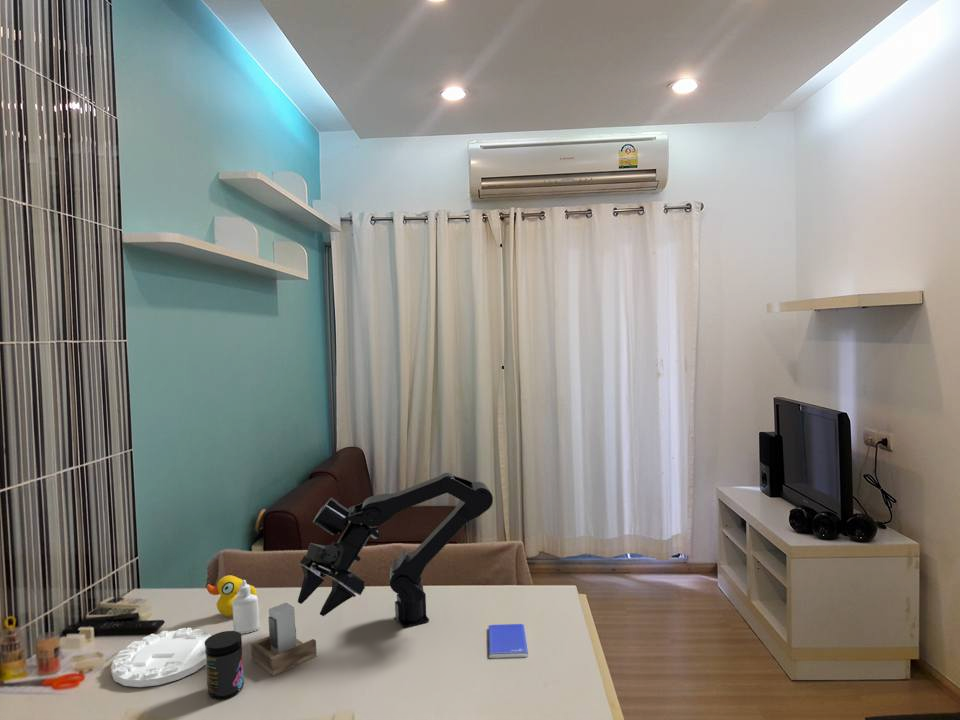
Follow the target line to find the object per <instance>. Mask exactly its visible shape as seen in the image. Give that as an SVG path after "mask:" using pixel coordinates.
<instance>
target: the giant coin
mask: <svg viewBox="0 0 960 720" xmlns="http://www.w3.org/2000/svg"><path fill="white" fill-rule="evenodd" d="M210 636H212V635H211V634H210V633H208V632H206V630H205V629H199V628H198V629H197V628H195V629H192V627H187V628H186V627H184V628H183V627H182V628H178V630H173V631H172V630H171V631H168V630H162V631H160V633H158V634H155V633H151V634H149V635H147V636H144V637H142V639H141V640H134V641H132V642H131V643H129V645H127V646H126V648H125V649H123V650H119V652H118V654H117V656H115V658H113V660H112V663H111V665H110V671H111V672H110V673H111V676H112V678H113V681H114V682H116V683H118V684H120V685H122V686H125V687H135V688H145V687H153V686H161V685H164V684H168V683H171V682H175V681H177V680H181V679H183V678H184V677H187V676H189V675H191V674H194V673H196V672H198V671H199V670H200V669H201V668H203V667H204V666H206V657H205V641H206V639H208V638H209V637H210Z"/></svg>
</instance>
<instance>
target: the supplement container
mask: <svg viewBox="0 0 960 720" xmlns="http://www.w3.org/2000/svg"><path fill="white" fill-rule="evenodd" d="M242 636H243V635H242V634H241V633H239V632H237V631H234V630H226V631H220V632H216V633H215V634H212V635H211V636H210V637H209V638H208V639H206V641H205V657H206V665H205V670H206V671H205V672H206V686H207V687H206V688H207V694H208V696H209V698H211V699H214V700H226V699H230V698H232V697H234V696H236V695H237V694H239V693H240V692H241V691H242V689H243V688H244V685H245V679H244V677H245V676H244V658H243V640H242V638H243V637H242Z"/></svg>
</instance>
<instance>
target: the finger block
mask: <svg viewBox="0 0 960 720" xmlns="http://www.w3.org/2000/svg"><path fill="white" fill-rule="evenodd" d="M295 612H296V611H295V607H294V606H293V605H292V604H289V603H288V602H284V603H281V604H279V605H277V606H273V607H270V608H268V634H269V637H270V645H271V654H273V655H274V656H275V655H277V654H280V653H282V652H284V651H287V650H289V649H291V648H294V647H296V639H297V631H296V632H295V628H296V616H295V615H296V614H295Z"/></svg>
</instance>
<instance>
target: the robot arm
mask: <svg viewBox="0 0 960 720" xmlns="http://www.w3.org/2000/svg"><path fill="white" fill-rule="evenodd" d="M445 494H449V495H451V496H453V497H454V498H457V499H458V500H459V501H458V502H457V504H456V506H455V507H454V509H453V510H452V511H451V512H450V513H449V514H448V516H446V517H445V519H444V520H443V521H441V523H440V524H439V525H438V526H437V527H436V528H435V529H434V530H433V531H432V532H431V533H430V534H429V535H428V536H427V537H426V539H425V540H423V541H422V542H421V544H420V545H418V547H416V549H415V550H413V551H411V552H409V553H407V552H406V550H403V551H402V552H401V553H400V555H399V556H398V557H397V558H395V559H394V560H392V561H391V564H392V565H391V567H390V571H389V586H390V589H391V590H392V591H393V592H394V593H396V601H394V613H395V614H394V616H395V619H396V620H397V622H399V624H400V625H401V627H402V628H408V627H411V626H415V625H419V624H423V623H424V624H425V623H427V622H430V618H429V617H428V616H427V597H426V596H427V595H426V594H427V593H426V592H425V591H424V583H423V582H424V581H423V577H422V574H423V572H424V571H425V568H426V566H427V565H428V564H429V563H430V562H431V561H432V560H433V559H434V557H436V556H437V555H438V553H439V552H440V551H441V550H442V549H444V548H445V547H446V545H447V544H448V543H449V542H450V541H451V540H453V538H454V537H455V536H456V535H457V534H458V533H459V532H460V531H461V529H462V528H464V527H465V525H466V524H467V523H469V522H471V521H473V520H475V519H477V518H479V517H480V516H482V515H483V514H484V513H485V512H487V511H489V509H491V507H492V506H493V503H494V502H493V501H494V500H493V499H494V497H493V494H492V492H491V491H490V489H489V486H487V485H486V484H485V483H484V482H481V481H471V480H468V479H466V478H463V477H459V476H456V475H453V474H452V473H450V472H444V473H441V474H440V475H438V476H435V477H433V478H431V479H429V480H426V481H425V480H424V481H423V482H421V483H417V484H415V485H413V486H410V487H407V488H405V489H402V490H400V491H397V492H393V493H381V494H376V495H372V496H369V497H367V498H366V499H364V500H363V502H360V503H359V504H355V505H352V506H350V507H349V508H347V507H345V506H344V505H342V504H341V503H339V502H338V501H337V500H336V499H335V498H333V497H330V498H329V499H328V500H327V502H326V503H325V504H324V505H323V506H322V507H321V508H320V509H319V511H318V512H317V514H316V516H315V517H314V519H313V521H312V523H314V525H317V526H318V527H320V528H321V529H323V530H324V531H326V532H327V533H329V534H330V535H332V536H334V535H338V534H341V535H340V536H339V537H340V538H339V539H338V541H337V542H335V541H332V542H331V543H330V544H327V545H324V544H323V545H322V544H318V543H317V544H316V543H312V542H310V543H309V546H308V549H307V551H306V554H305V555H304V556H303V557H302V558H301V560H300V562H299V564H301V568H300V569H301V570H302V571H303V579H302V584H301V588H300V592H299V594H298V595H299V596H298V599H297V603H298V604H300V605H302V604H303V603H304V602H305V601H306V600H308V598H309V597H310V596H311V595H313V593H314V592H315V591H316V590H317V589H318V587H319V586H321V584H323V582H325V579H324V578H325V577H330V578H331V579H332V580H331V591H330V593H329V594H328V596H327V597H326V600H325V602H324V603H323V605H322V608H321V610H320V611H319V615H321V617H324V616H326V615H328V613H330V612H331V611H333V610H334V609H336V608H337V607H339V606H340V605H341V604H344V603H345V602H346V601H349V600H350V599H351V598H355V597H357V595H359V596H361V595H362V593H363V592H364V590H366V582H365V581H364V580H363V579H361V578H360V577H359V576H357V575H356V574H354V573H353V572H352V571H350V569H351V568H352V566H353V565H354V563H355V562H357V563H359V562H360V560H361V556H359V555H360V553H361V552H362V550H363V548H364V546H366V543H367V542H368V540H369V539H370V537H371V538H372V539H373V540H377V539H380V534H379V533H380V532H379V526H381V525H383V524H384V523H386V522H387V521H389V520H390V519H392V518H393V517H394V516H396V515H397V514H398V513H400V512H401V511H403V510H406V509H408V508H411V507H413V506H416V505H419V504H421V503H422V504H423V503H424V502H427V501H430V500H432V499H434V498H437V497H439V496H442V495H445ZM347 524H348V525H347ZM346 526H347V527H346ZM345 527H346V528H345ZM344 529H345V530H344ZM342 531H343V533H342ZM333 579H334V580H333ZM356 594H357V595H356Z"/></svg>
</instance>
